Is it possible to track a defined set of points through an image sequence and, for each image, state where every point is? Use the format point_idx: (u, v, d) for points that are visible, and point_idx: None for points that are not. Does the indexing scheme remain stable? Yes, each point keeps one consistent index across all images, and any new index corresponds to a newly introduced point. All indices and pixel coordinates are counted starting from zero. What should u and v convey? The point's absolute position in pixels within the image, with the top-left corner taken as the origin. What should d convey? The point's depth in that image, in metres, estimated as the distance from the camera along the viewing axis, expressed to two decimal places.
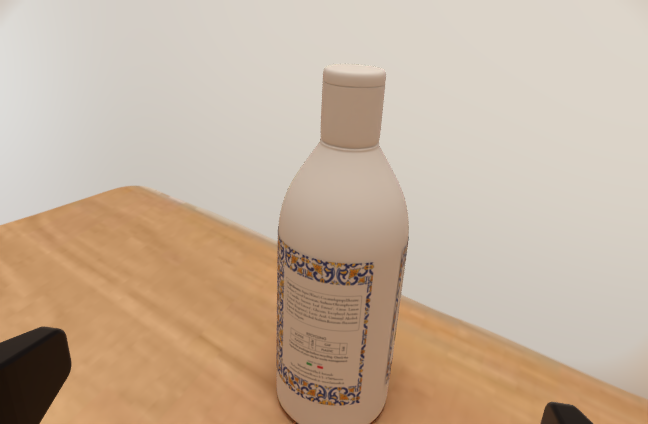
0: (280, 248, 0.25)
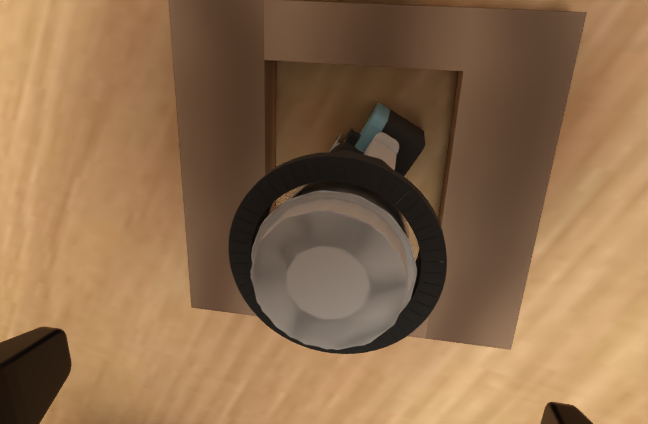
0: None
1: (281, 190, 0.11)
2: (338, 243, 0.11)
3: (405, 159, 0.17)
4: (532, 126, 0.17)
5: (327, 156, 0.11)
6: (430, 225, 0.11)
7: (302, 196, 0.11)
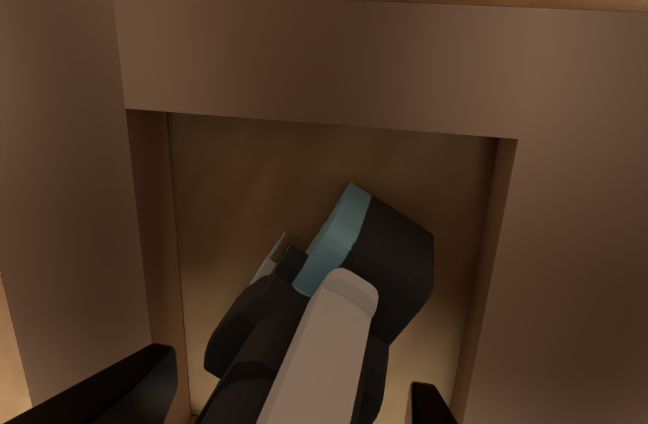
0: None
1: None
2: None
3: (392, 314, 0.08)
4: None
5: None
6: None
7: None
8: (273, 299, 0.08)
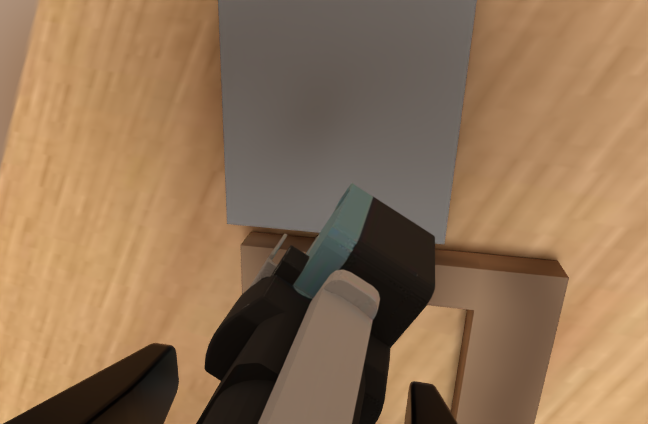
0: None
1: None
2: None
3: (394, 316, 0.08)
4: (529, 350, 0.22)
5: None
6: None
7: None
8: (274, 301, 0.08)
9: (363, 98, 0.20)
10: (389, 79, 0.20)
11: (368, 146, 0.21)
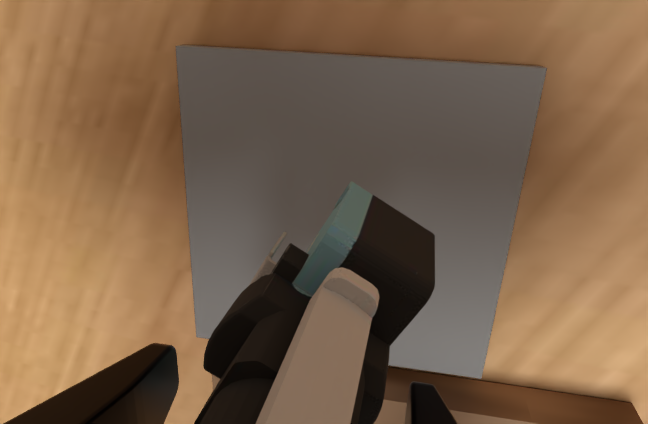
0: None
1: None
2: None
3: (393, 314, 0.08)
4: None
5: None
6: None
7: None
8: (273, 299, 0.08)
9: (377, 195, 0.15)
10: (414, 172, 0.14)
11: None
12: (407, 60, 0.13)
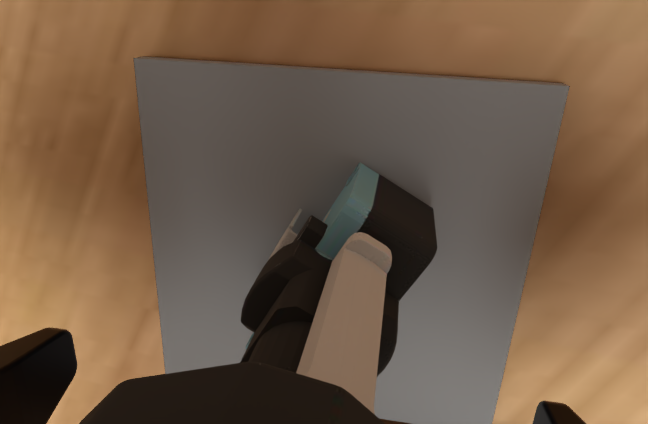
0: None
1: None
2: None
3: (402, 273, 0.10)
4: None
5: None
6: None
7: None
8: (302, 260, 0.09)
9: None
10: None
11: None
12: (403, 76, 0.11)
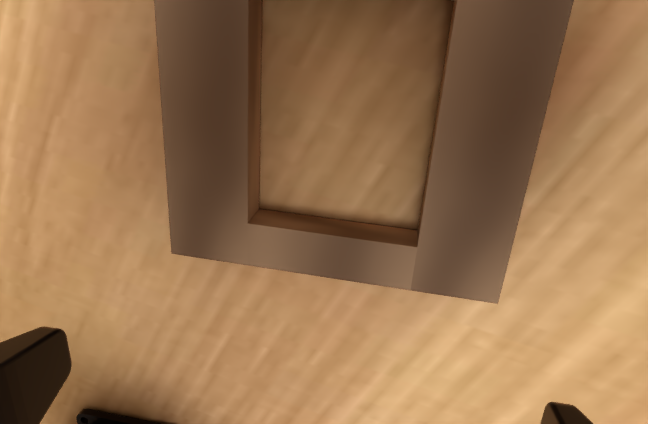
0: None
1: None
2: None
3: None
4: (528, 62, 0.16)
5: None
6: None
7: None
8: None
9: None
10: None
11: None
12: None
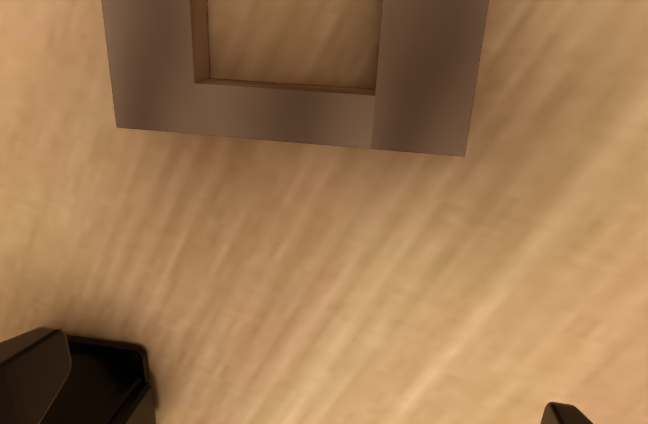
0: None
1: None
2: None
3: None
4: None
5: None
6: None
7: None
8: None
9: None
10: None
11: None
12: None
